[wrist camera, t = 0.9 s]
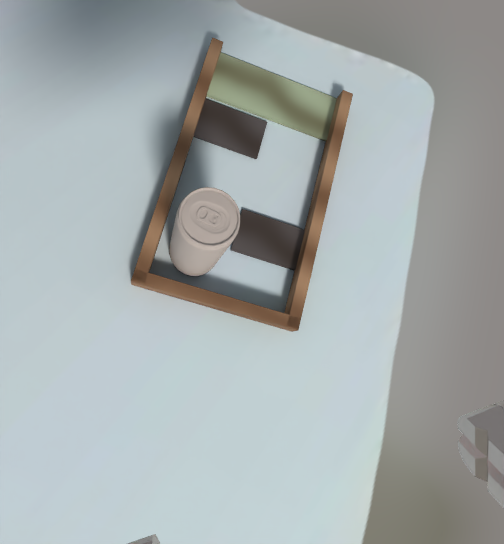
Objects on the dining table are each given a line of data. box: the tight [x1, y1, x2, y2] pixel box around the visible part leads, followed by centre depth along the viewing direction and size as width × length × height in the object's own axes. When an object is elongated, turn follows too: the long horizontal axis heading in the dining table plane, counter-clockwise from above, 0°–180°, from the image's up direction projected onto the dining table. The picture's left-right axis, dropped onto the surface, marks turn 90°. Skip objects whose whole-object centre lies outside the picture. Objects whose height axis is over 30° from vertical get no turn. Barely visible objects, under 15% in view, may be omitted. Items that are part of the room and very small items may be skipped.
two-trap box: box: [131, 38, 353, 331], centre depth 46 cm, size 27×16×2 cm, turn 165°
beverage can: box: [169, 187, 240, 276], centre depth 38 cm, size 5×5×12 cm
